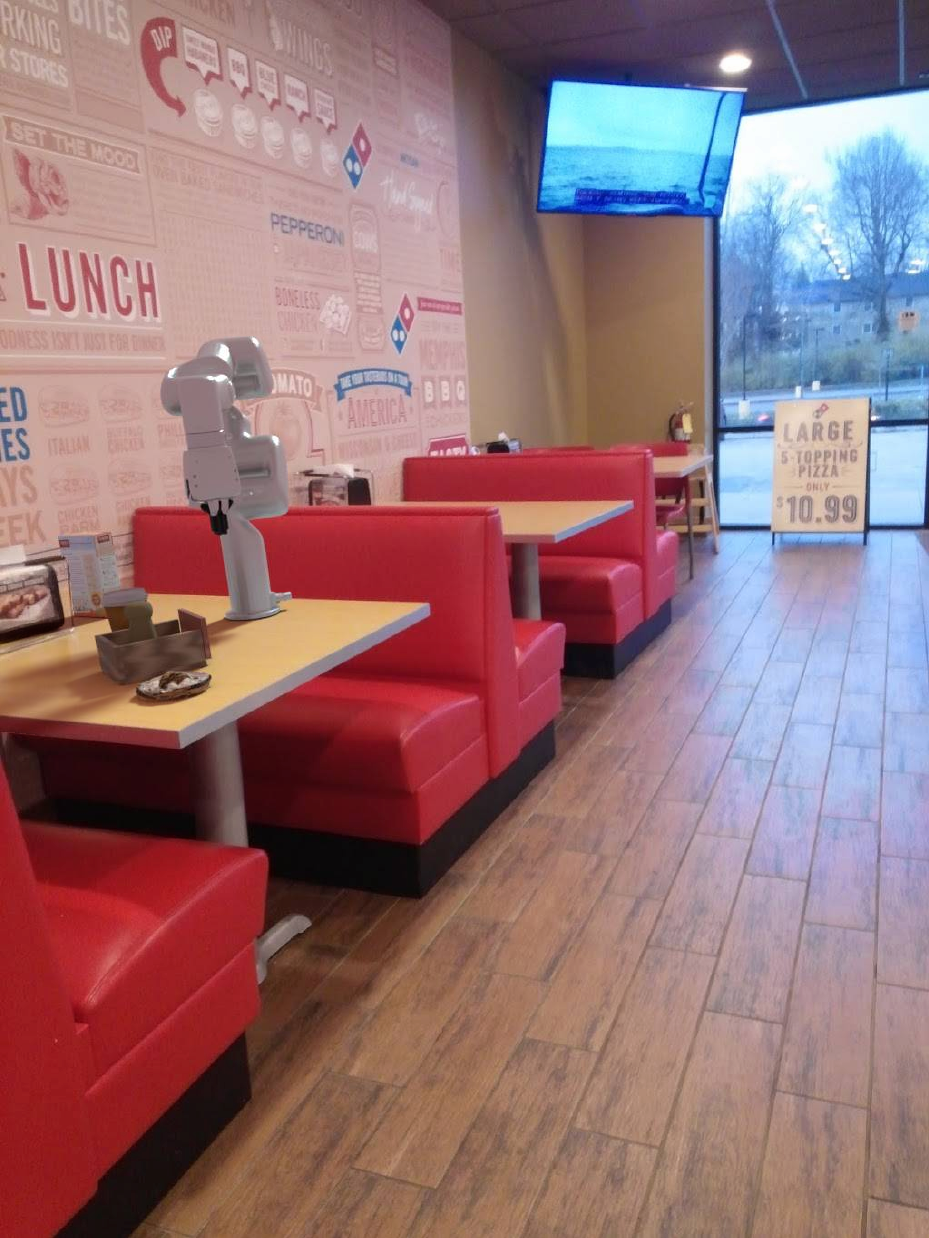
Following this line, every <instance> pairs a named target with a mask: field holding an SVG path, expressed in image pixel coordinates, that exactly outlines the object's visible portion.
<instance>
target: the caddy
mask: <svg viewBox="0 0 929 1238" xmlns="http://www.w3.org/2000/svg"><path fill="white" fill-rule="evenodd" d="M153 625H154V628H155V631H156V635H157V638H154V639H149V640H145V641H140V642H135V643H130V639H129V629H125V630H120V631H115V632H112V631H110V632H106V633H105V632H104V633H100V634H96V635H94V638H95V639H94V640H95V645H96V650H97V656H98V661H99V667H100V670H101V672H102V673H104V674H105V675H107V677H109V678H110V679H112V680H113V681H115V682H116V683H117V684H118V685H120V686H124V685H129V684H133V683H137V682H141V681H148V680H152V679H153V678H156V677H158V676H162V675H164V674H165V673H166V672H168V671H174V672H180V671H181V672H182V671H183V672H185V671H189V670H194V669H198V668H202V667H206V666H207V665H208V664H207V660H206V657H205V651H204V644H203V638H202V632H201V629H197V630H192V631H187V632H183V633H181V628H180V622H179V618H174V619H171V620H170V619H169V620H165V621H160V622H155V623H154V622H153Z"/></svg>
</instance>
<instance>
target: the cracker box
mask: <svg viewBox="0 0 929 1238" xmlns="http://www.w3.org/2000/svg"><path fill="white" fill-rule="evenodd" d="M57 539H58V545H59V549H60V551H59V552H60V554H61V558H62V557H63V556H64V557H66V558H67V561H68V565H69V573H70V582H71V591H72V604H73V611H74V615H75V616H74V617H91V618H103V617H104V618H105V619H108V618H107V615H106V612H105V608H104V606H103V605H102V603H101V600H102V594H104V593H107V592H111V591H115V590H120V589H122V586H121V581H120V575H119V569H118V564H117V557H116V552H115V551H116V550H115V545H114V540H113V535H112V531H80V532H70V533H65V534H61V535H58V536H57ZM62 567H63V570H64V571H63V572H64V577H65V579H66V568H65V565H64V563H63V562H62Z"/></svg>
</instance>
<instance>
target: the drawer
mask: <svg viewBox="0 0 929 1238" xmlns="http://www.w3.org/2000/svg"><path fill="white" fill-rule="evenodd" d="M177 614H178V615H177V616H178V621H179V627H180V633H183V632H187V631H192V630H197V629H201V632H202V638H203V644H204V651H205V657H206V661H207V660H211V659H212V651H211V645H210V639H209V632H208V625H207V619H206V617H205V616H202V615H200V614H197V613H195V612H193V611H190V610H187V609H185V608H177Z"/></svg>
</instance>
